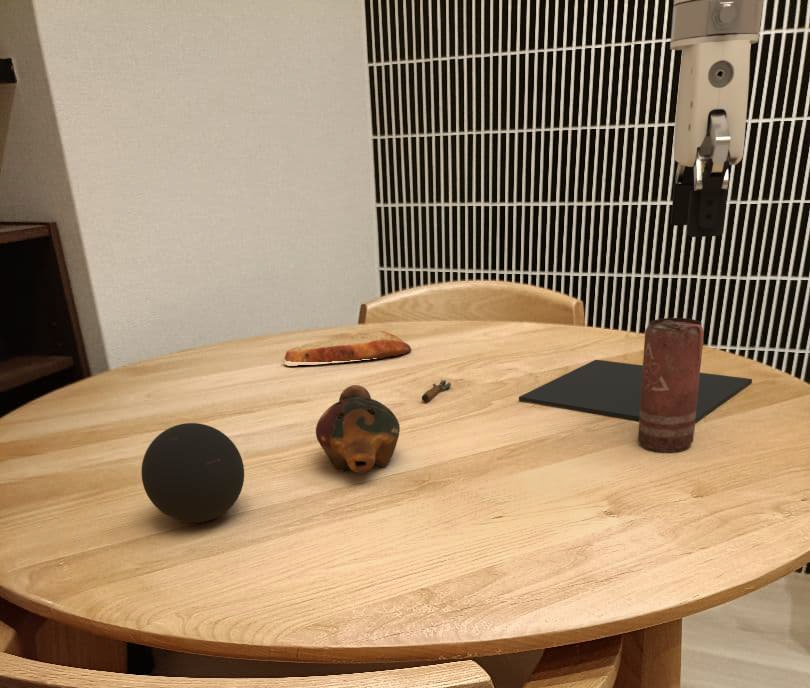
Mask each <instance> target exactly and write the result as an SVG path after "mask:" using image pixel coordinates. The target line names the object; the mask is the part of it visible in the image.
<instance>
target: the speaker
mask: <svg viewBox="0 0 810 688" xmlns="http://www.w3.org/2000/svg"><path fill="white" fill-rule="evenodd" d="M243 461H244V460H243V458H242V456H241V453H240V451H239V449H238V447H237V446H236V444H235V443H234V442H233V441H232V440H231V438H230V437H229V436H227V434H225V433H223V432H222V431H221V430H219V429H218V428H215V427H213V426H211V425H207V424H204V423H198V422H185V423H180V424H176V425H173V426H171V427H168V428H167V429H165V430H163V431H162V432H161V433H159V434H157V436H156V437H155V438H154V439H153V440H152V441H151V442H150V444H149V445H148V447H147V448H146V450H145V453H144V455H143V458H142V463H141V480H142V486H143V489H144V491H145V494H146V495H147V497H148V499H149V501H150V502H151V503H152V505H154V507H155V508H156V509H157V510H158V511H160V512H161V513H162V514H164V515H165V516H167V517H168V518H171V519H173V520H175V521H177V522H182V523H188V524H189V523H190V524H199V522H201V523H205V521H206V522H209V520H210V521H213V520H215V519H217V518H219V517H221V516H222V515H224V514H226V512H228V511H229V510H230V509H231V508H232V507H233V506H234V505H235V504H236V502H237V500H238V499H239V497H240V495H241V492H242V490H243V487H244V483H245V465H244V462H243ZM212 519H213V520H212Z"/></svg>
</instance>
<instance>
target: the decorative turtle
mask: <svg viewBox="0 0 810 688" xmlns="http://www.w3.org/2000/svg"><path fill="white" fill-rule="evenodd" d="M400 427H401V426H400V422H399V420H398V418H397V417H396V415H395V414H394V412H393V411H392V410H391V409H390V408H388V406H386V405H385V404H383V403H382V402H380V401H378V400H376V399H373V398H372V397H371V394H370V392H369V391H368V389H367V388H365V387H364V386H362V385H359V384H352V385H349V386H347V387H346V388H345V389H343V390H342V392H340V396H339V399H338V401H337V402H335V403H333V404H332V405H331V406H329V407H328V408H327V409H325V411H324V412H323V413H322V415H321V416H320V417H319V419H318V421H317V423H316V427H315V436H316V439H317V441H318V443H319V446H320V447H321V449H322V450H323V452H324V454H325V456H326V457H327V458H328V460H329V462H330V464H331V465H332V467H333V468H334V469H335V470H337V471H339V470H344V471H345V470H346V469H348V467H349V469H350V470H351V471H352V472H354V473H357V474H363V473H367V472H369V471H370V470H372V468H374V465H377V466H379V467H380V466H381V467H386V466H388V465H389V463H390V462H391V460H392V458H393V456H394V452H395V450H396V446H397V444H398V440H399V437H400V431H401V428H400Z"/></svg>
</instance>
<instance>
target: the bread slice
mask: <svg viewBox="0 0 810 688" xmlns="http://www.w3.org/2000/svg"><path fill="white" fill-rule="evenodd" d="M410 351H411V352H412V348H411V346H410V345H409V344H408V343H407V342H405V341H404V340H402V339H401V338H399V337H398V336H396V335H394V334H392V333H391V332H387V331H385V330H379V331H374V332H367V333H366V332H365V333H362V332H360V333H356V334H350V335H344V336H338V337H334V338H329V339H325V340H319V341H316V342H312V343H307V344H303V345H301V346H296V347H293V348H290V349H289V350H287V351H286V353H285V355H284V357H283V358H284V359H285V360H286V361H291V362H332V361H350V360H362V359H373V358H382V359H384V358H383V357H387V358H389V357H388V356H395V357H398V356H397V355H399V356H402V355H401V354H403V355H406V354H408V353H411V352H410ZM407 352H408V353H407ZM284 359H283V360H284Z"/></svg>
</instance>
